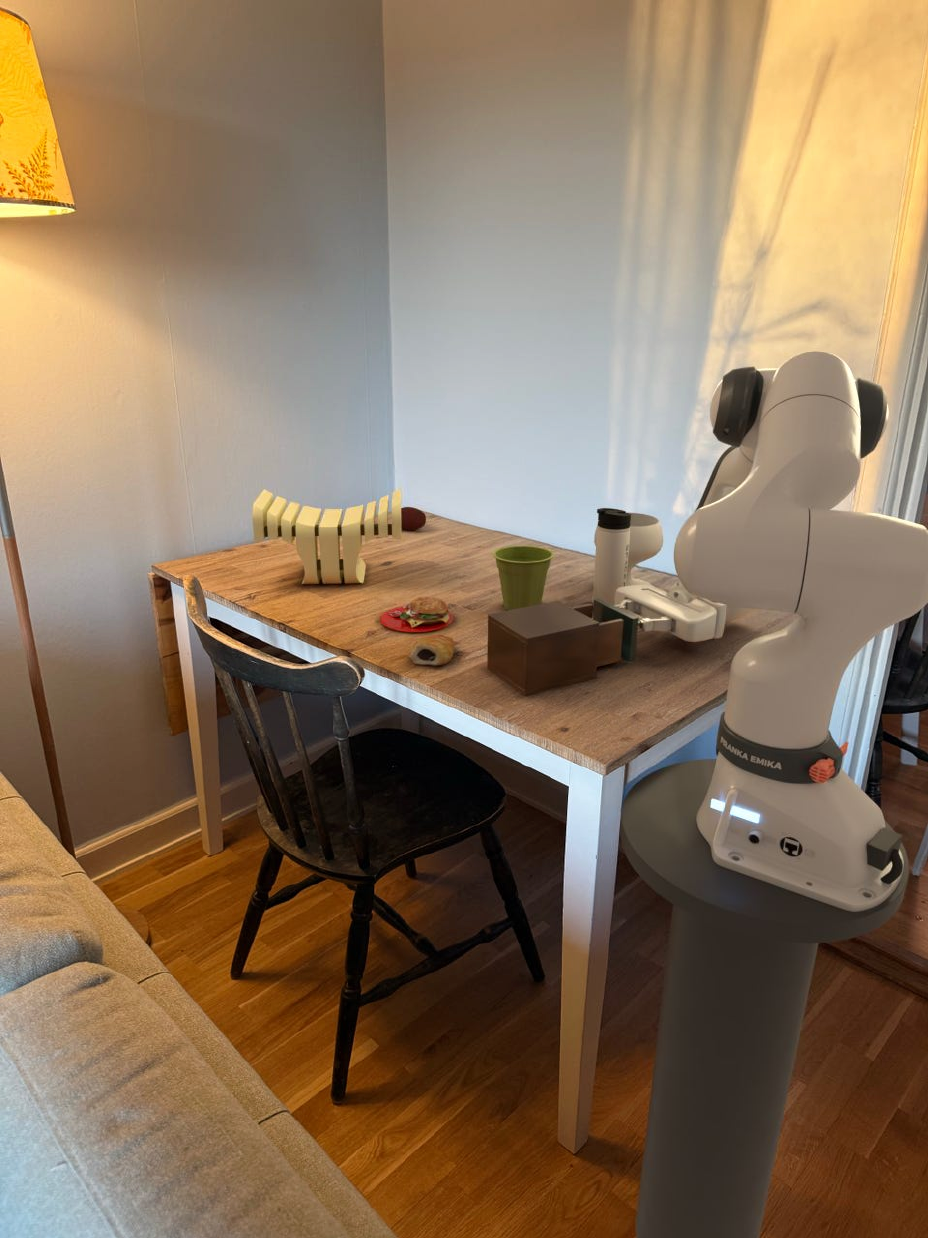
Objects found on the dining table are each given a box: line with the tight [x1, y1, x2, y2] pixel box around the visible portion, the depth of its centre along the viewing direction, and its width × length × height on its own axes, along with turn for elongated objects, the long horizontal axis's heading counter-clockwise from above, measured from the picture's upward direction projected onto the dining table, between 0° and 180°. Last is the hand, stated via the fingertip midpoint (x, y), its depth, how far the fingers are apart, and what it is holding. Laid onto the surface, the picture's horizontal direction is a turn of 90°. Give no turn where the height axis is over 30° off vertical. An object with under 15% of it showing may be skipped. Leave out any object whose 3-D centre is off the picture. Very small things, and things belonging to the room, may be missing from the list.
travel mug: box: [591, 507, 631, 606], centre depth 160 cm, size 6×7×20 cm
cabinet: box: [486, 600, 600, 697], centre depth 133 cm, size 14×12×10 cm
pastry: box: [409, 633, 456, 667], centre depth 140 cm, size 9×7×4 cm
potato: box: [401, 506, 427, 531], centre depth 216 cm, size 8×9×6 cm
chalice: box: [593, 512, 664, 586], centre depth 171 cm, size 14×14×15 cm
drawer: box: [569, 599, 645, 668], centre depth 138 cm, size 17×10×8 cm, turn 119°
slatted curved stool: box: [252, 487, 403, 585], centre depth 178 cm, size 30×16×18 cm, turn 94°
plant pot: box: [492, 545, 555, 611], centre depth 161 cm, size 12×12×11 cm
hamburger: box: [379, 596, 455, 633], centre depth 156 cm, size 14×14×6 cm
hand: (627, 618), depth 140 cm, fingers closed on drawer, 6 cm apart
